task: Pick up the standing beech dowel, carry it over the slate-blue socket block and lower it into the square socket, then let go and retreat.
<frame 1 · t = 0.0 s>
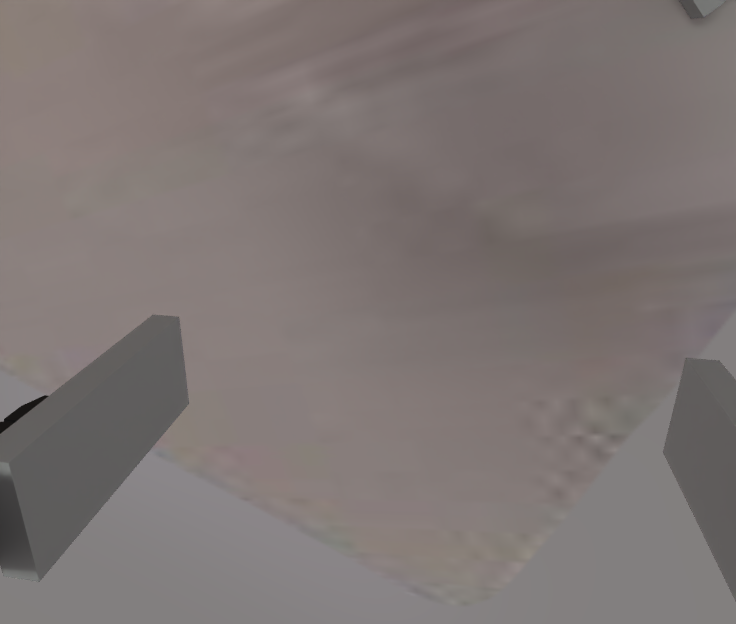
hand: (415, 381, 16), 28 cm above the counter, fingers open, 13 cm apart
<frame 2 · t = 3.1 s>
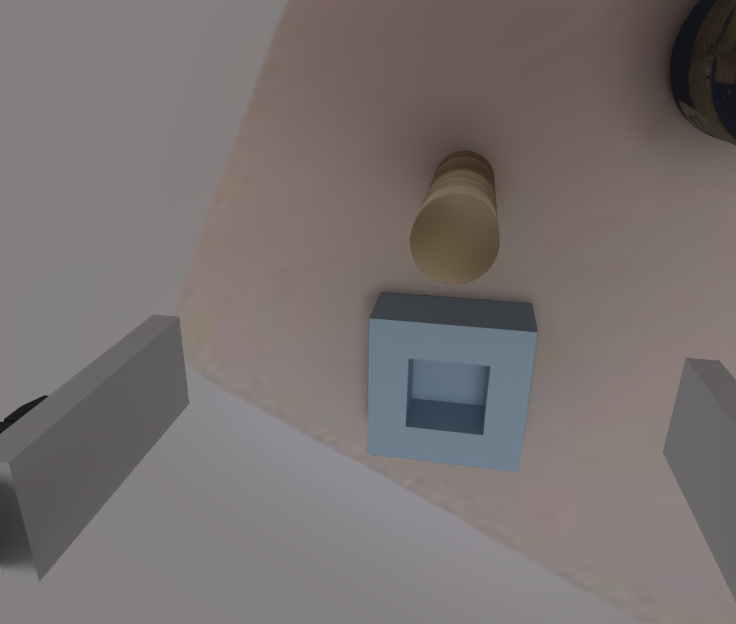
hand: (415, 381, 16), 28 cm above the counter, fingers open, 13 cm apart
dowel: (463, 181, 41), on the counter
socket block: (450, 364, 46), on the counter
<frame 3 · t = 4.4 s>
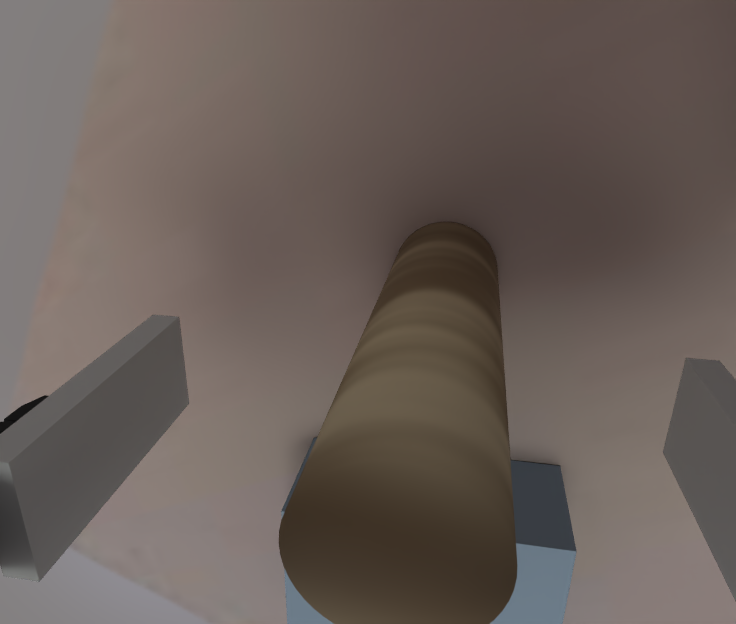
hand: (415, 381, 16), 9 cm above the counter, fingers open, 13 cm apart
dowel: (445, 271, 24), on the counter
socket block: (426, 545, 29), on the counter
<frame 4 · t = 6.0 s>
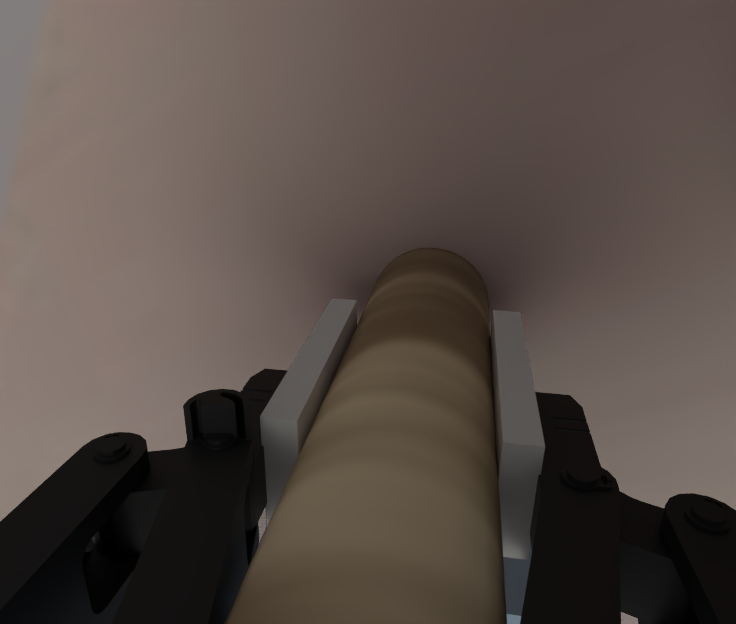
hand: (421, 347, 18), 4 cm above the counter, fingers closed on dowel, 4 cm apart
dowel: (429, 303, 21), on the counter, touching gripper
socket block: (411, 599, 26), on the counter
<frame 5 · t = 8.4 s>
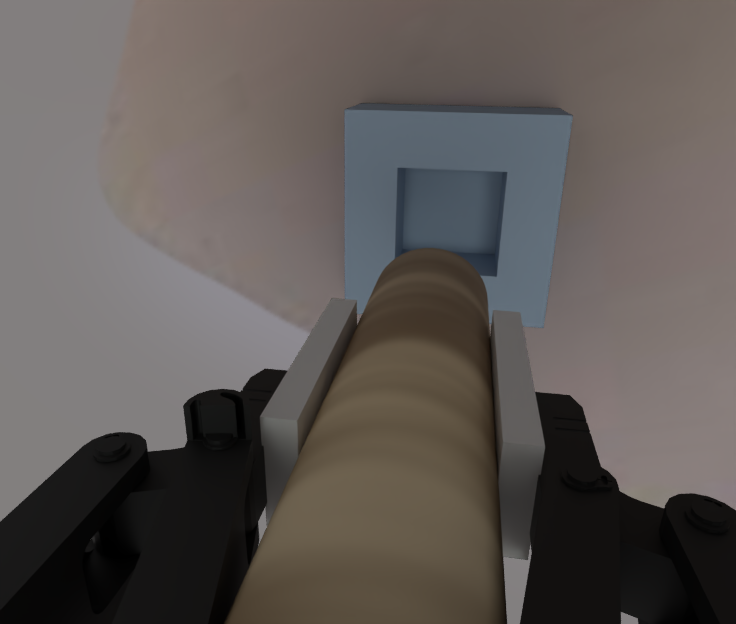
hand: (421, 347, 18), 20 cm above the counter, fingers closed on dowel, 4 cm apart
dowel: (429, 302, 21), point 16 cm above the counter, touching gripper
socket block: (451, 202, 36), on the counter
when the fingers open (6 cm above the counter, at t = 10.7 s): dowel drops 1 cm, resting on socket block.
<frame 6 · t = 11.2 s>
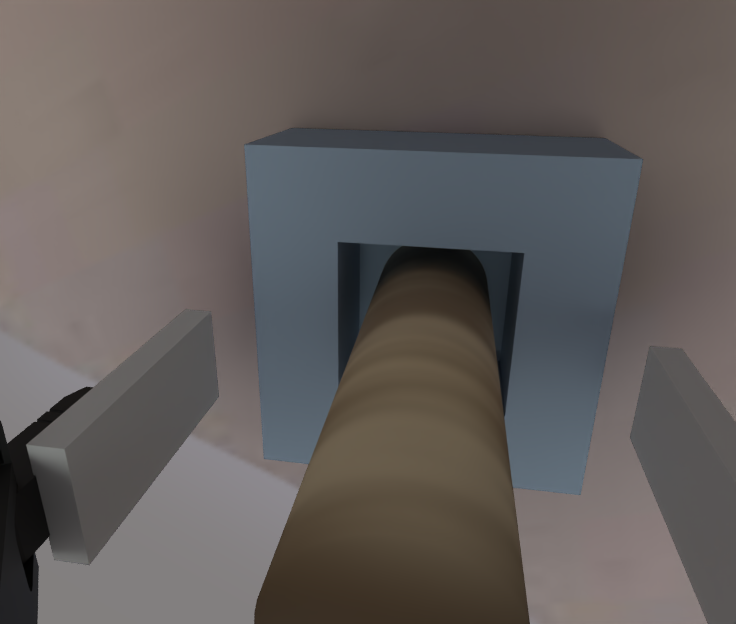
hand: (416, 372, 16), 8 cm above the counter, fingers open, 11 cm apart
dowel: (433, 288, 22), point 1 cm above the counter, touching socket block
socket block: (433, 279, 23), on the counter
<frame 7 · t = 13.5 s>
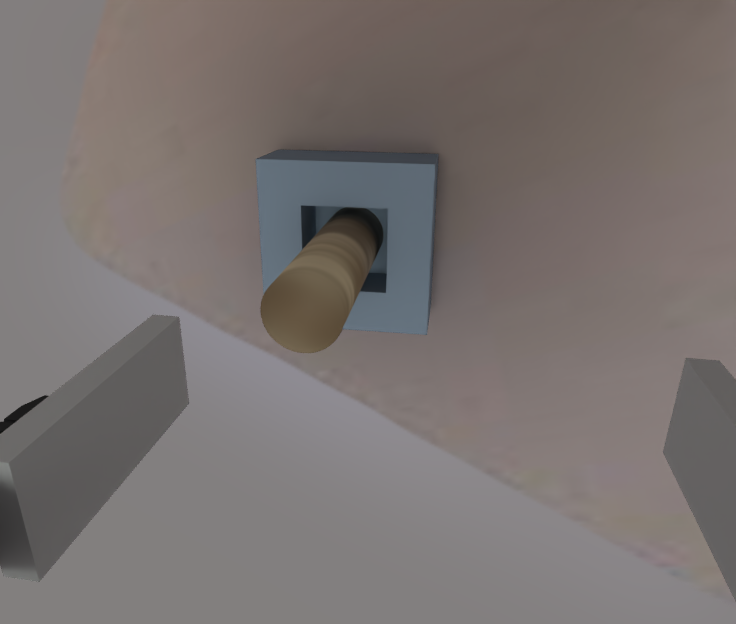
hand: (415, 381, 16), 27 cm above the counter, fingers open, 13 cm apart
dowel: (354, 234, 42), point 1 cm above the counter, touching socket block
socket block: (356, 231, 43), on the counter
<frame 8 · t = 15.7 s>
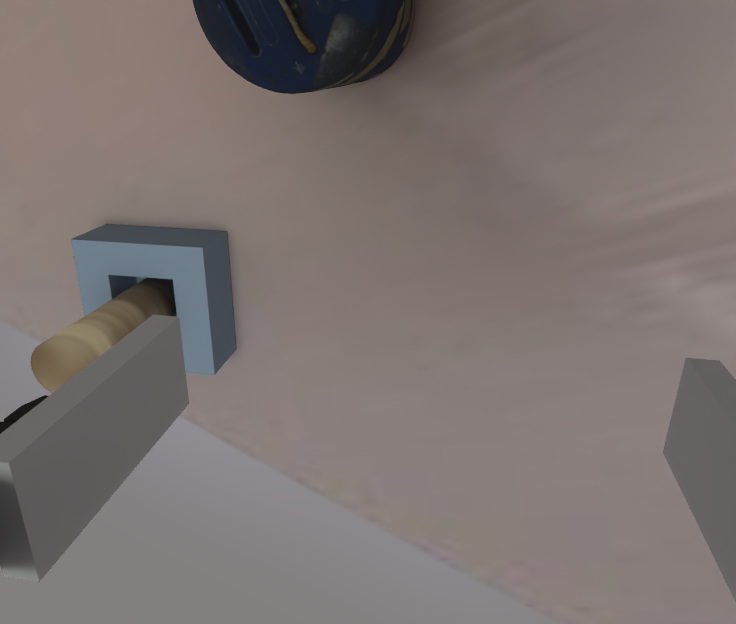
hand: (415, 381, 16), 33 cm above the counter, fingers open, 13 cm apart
dowel: (167, 292, 52), point 1 cm above the counter, touching socket block
canister: (351, 13, 43), on the counter
socket block: (172, 288, 53), on the counter
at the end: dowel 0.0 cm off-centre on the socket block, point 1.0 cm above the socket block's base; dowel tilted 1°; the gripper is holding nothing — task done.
